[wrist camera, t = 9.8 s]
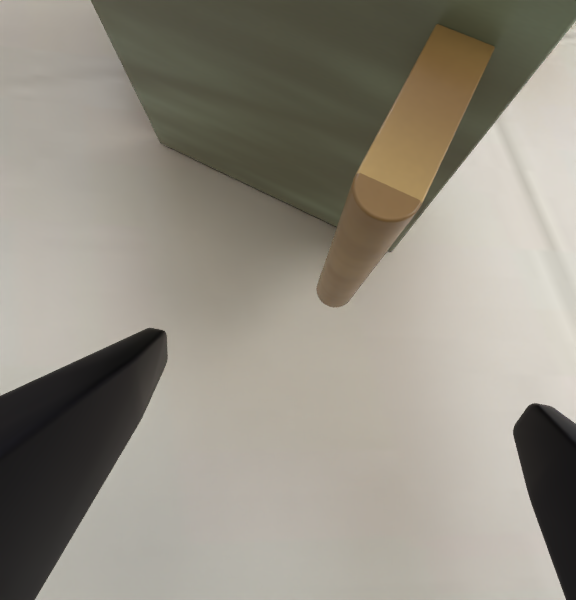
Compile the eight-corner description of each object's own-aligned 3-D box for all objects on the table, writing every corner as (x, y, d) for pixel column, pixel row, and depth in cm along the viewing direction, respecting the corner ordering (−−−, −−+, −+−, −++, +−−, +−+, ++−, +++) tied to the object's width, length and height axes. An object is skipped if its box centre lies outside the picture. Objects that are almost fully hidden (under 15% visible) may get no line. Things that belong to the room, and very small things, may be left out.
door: (349, 340, 19) (506, 225, 6) (107, 216, 21) (-207, -97, 7) (396, 242, 21) (603, -27, 7) (166, 134, 22) (-4, -247, 9)
